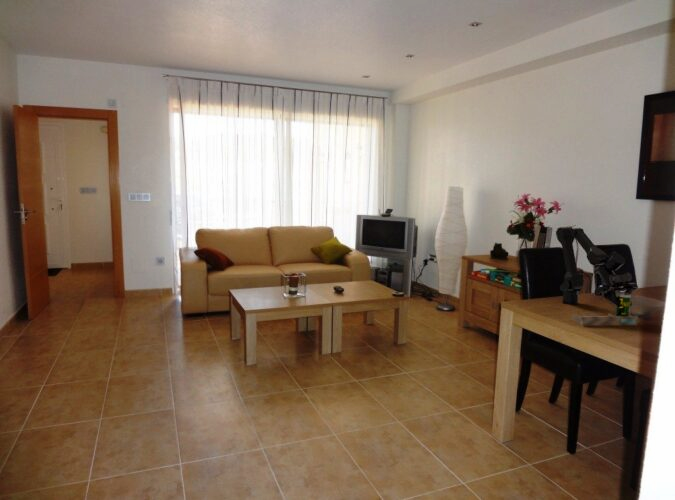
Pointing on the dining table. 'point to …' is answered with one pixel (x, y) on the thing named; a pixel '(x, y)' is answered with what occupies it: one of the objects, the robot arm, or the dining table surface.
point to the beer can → (623, 304)
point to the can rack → (605, 320)
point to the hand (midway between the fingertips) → (625, 306)
